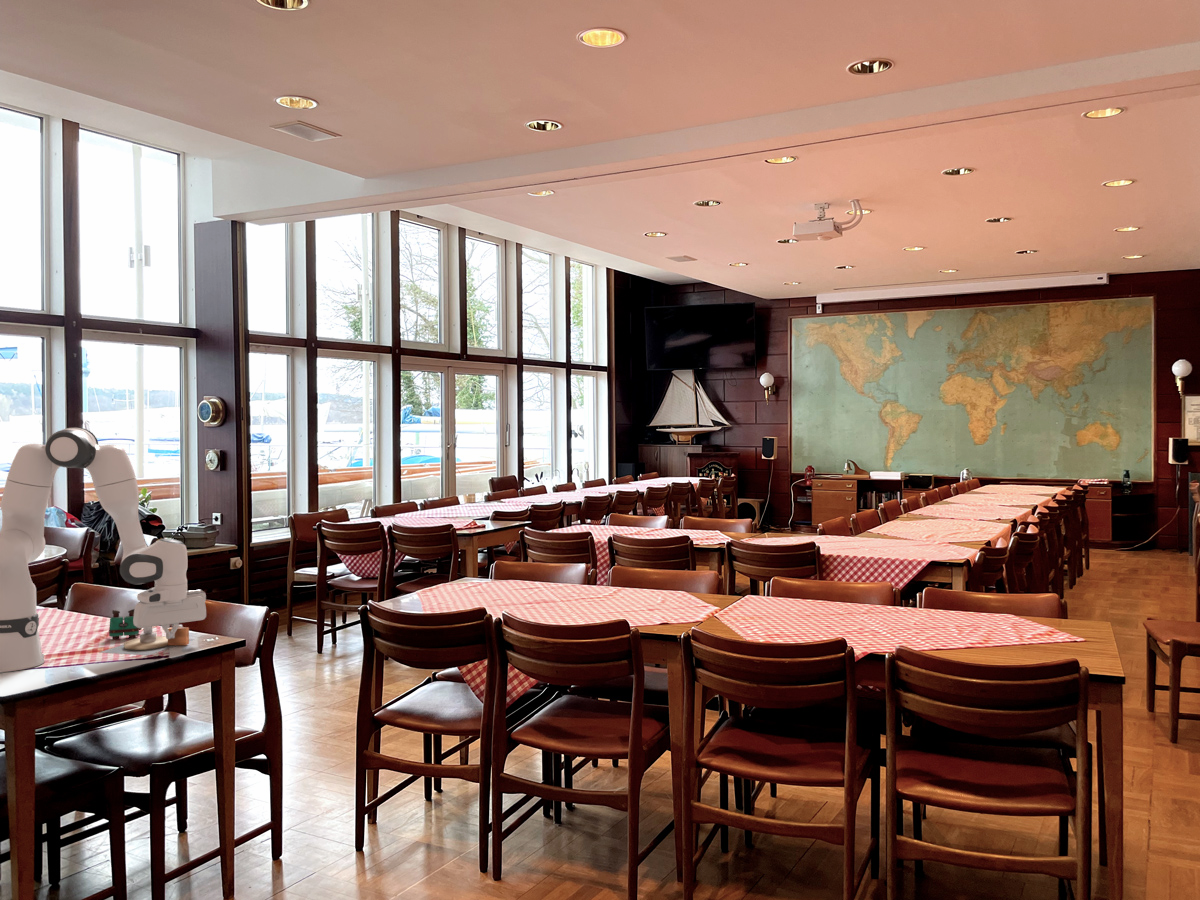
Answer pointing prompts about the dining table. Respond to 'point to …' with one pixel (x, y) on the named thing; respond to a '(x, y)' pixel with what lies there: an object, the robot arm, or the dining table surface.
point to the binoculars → (122, 625)
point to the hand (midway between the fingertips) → (170, 638)
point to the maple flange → (158, 640)
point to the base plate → (122, 650)
